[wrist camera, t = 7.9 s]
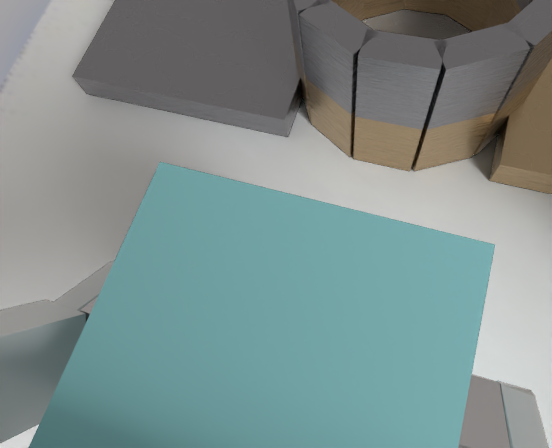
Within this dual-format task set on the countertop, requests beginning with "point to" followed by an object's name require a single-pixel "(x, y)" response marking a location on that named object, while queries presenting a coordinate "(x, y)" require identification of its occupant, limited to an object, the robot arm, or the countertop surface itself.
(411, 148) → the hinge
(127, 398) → the teal square block
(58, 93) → the countertop surface
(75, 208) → the countertop surface
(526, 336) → the countertop surface
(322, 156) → the countertop surface
